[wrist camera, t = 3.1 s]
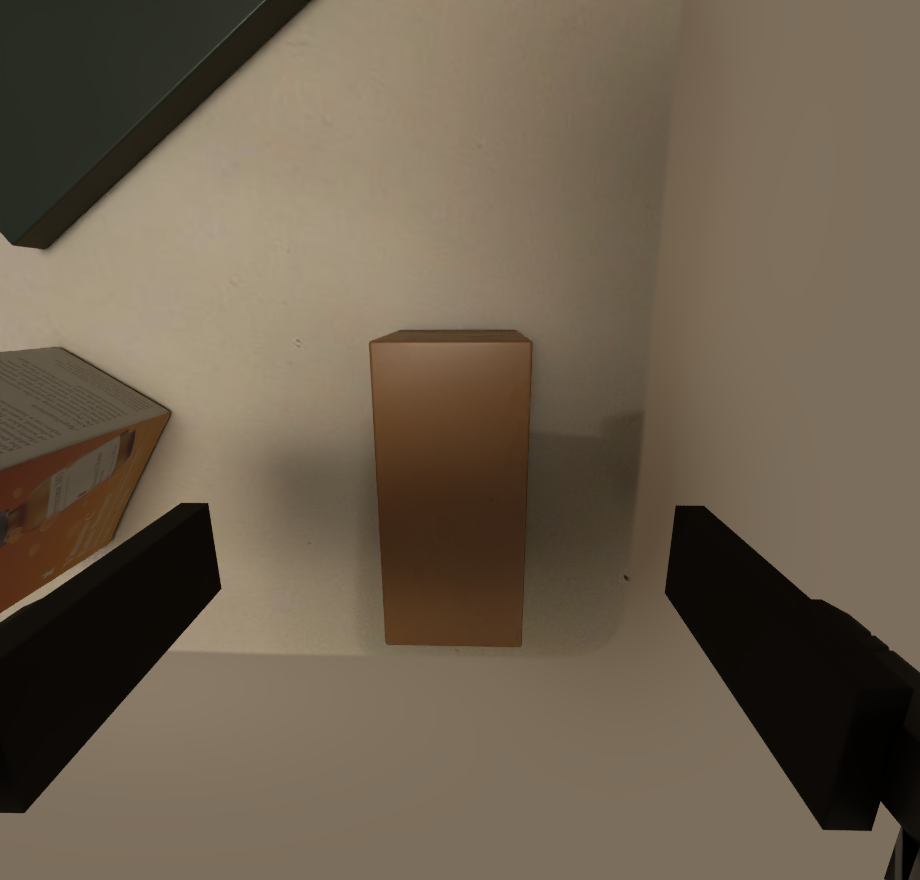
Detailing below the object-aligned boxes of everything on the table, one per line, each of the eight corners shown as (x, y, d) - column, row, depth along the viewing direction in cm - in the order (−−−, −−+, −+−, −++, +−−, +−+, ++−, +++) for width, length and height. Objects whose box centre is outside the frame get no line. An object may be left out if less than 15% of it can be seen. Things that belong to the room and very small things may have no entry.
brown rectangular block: (398, 329, 21) (368, 340, 15) (516, 329, 20) (532, 340, 15) (407, 561, 24) (385, 645, 18) (510, 563, 23) (521, 648, 18)
